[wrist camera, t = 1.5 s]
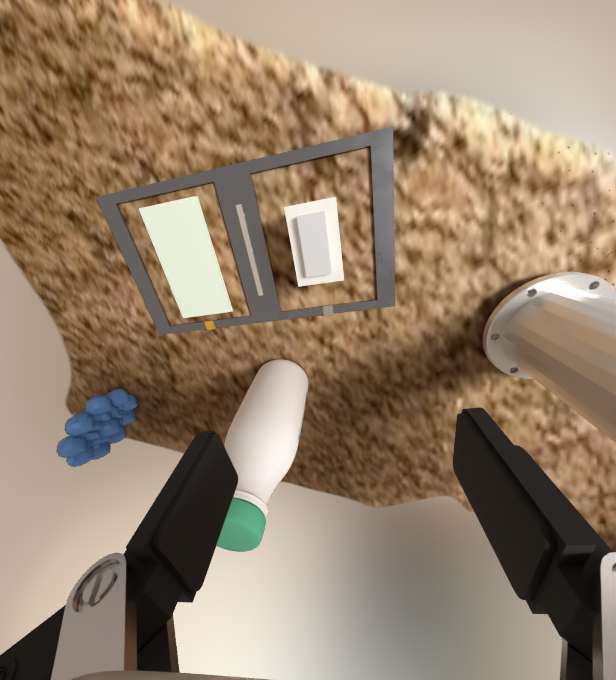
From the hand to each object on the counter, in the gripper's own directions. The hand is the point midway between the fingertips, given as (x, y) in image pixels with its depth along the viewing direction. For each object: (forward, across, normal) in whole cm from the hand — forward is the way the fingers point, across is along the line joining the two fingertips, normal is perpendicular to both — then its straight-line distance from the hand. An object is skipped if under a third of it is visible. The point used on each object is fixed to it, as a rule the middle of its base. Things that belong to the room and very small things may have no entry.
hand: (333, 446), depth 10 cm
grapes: (+23, +36, +12) cm, 44 cm away
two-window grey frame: (+22, +8, -6) cm, 25 cm away
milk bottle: (+22, +9, +12) cm, 27 cm away
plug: (+22, 0, -6) cm, 23 cm away
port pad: (+22, +16, -7) cm, 29 cm away
